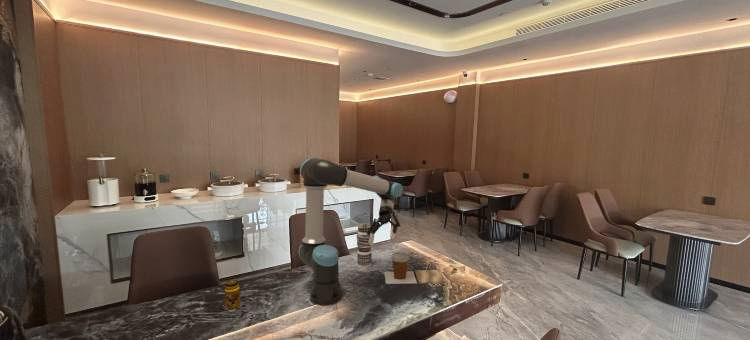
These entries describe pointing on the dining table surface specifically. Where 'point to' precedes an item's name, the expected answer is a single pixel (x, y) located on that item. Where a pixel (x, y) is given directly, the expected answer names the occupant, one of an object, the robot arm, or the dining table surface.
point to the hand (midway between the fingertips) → (381, 241)
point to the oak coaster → (429, 276)
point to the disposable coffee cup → (400, 264)
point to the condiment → (232, 295)
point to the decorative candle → (363, 246)
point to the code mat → (392, 280)
